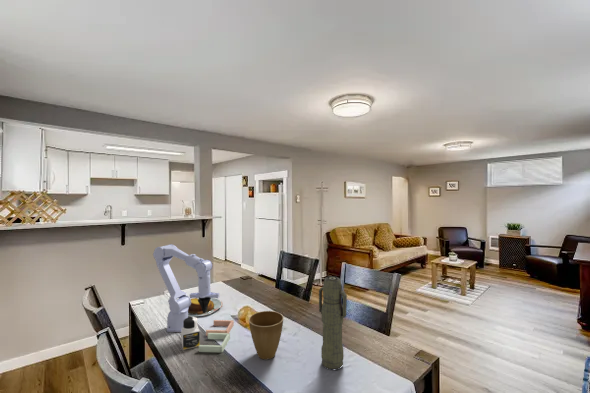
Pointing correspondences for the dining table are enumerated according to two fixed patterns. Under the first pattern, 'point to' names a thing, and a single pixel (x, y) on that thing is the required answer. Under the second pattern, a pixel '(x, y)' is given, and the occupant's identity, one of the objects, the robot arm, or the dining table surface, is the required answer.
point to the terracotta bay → (222, 323)
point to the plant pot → (266, 332)
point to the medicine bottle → (190, 333)
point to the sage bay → (215, 347)
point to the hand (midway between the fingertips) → (204, 312)
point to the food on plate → (197, 309)
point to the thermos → (332, 321)
